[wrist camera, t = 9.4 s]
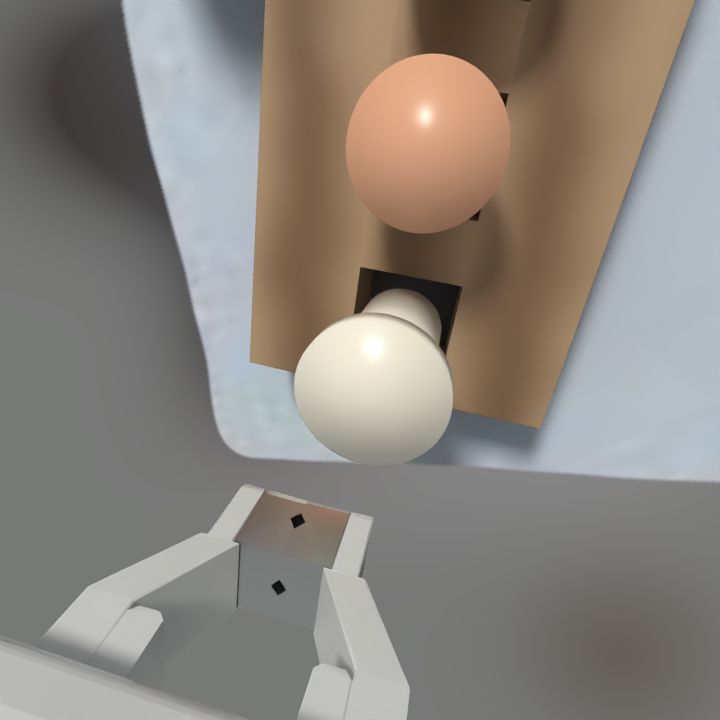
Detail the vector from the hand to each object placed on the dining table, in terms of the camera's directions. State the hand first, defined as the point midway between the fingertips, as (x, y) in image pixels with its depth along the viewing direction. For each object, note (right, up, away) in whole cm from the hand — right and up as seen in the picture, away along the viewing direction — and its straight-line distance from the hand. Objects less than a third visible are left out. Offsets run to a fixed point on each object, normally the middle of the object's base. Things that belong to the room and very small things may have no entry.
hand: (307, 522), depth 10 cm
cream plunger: (+3, +5, +12) cm, 14 cm away
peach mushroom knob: (+5, +14, +12) cm, 19 cm away
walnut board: (+5, +14, +14) cm, 21 cm away
